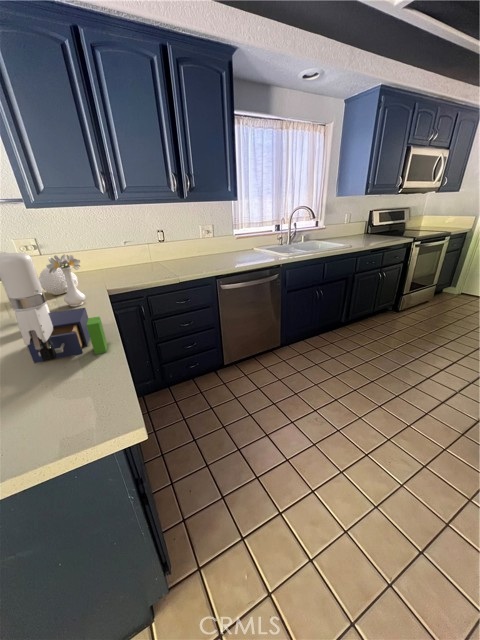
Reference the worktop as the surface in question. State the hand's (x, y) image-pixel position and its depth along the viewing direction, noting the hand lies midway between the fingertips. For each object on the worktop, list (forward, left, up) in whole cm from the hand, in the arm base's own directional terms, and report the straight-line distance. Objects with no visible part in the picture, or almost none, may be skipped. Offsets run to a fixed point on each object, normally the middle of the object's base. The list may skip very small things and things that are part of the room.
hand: (50, 358), depth 78 cm
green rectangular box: (+12, +9, -5) cm, 16 cm away
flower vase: (-3, +65, -5) cm, 65 cm away
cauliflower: (-14, +92, -5) cm, 93 cm away
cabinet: (0, +21, -5) cm, 22 cm away
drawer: (0, +11, -4) cm, 11 cm away
